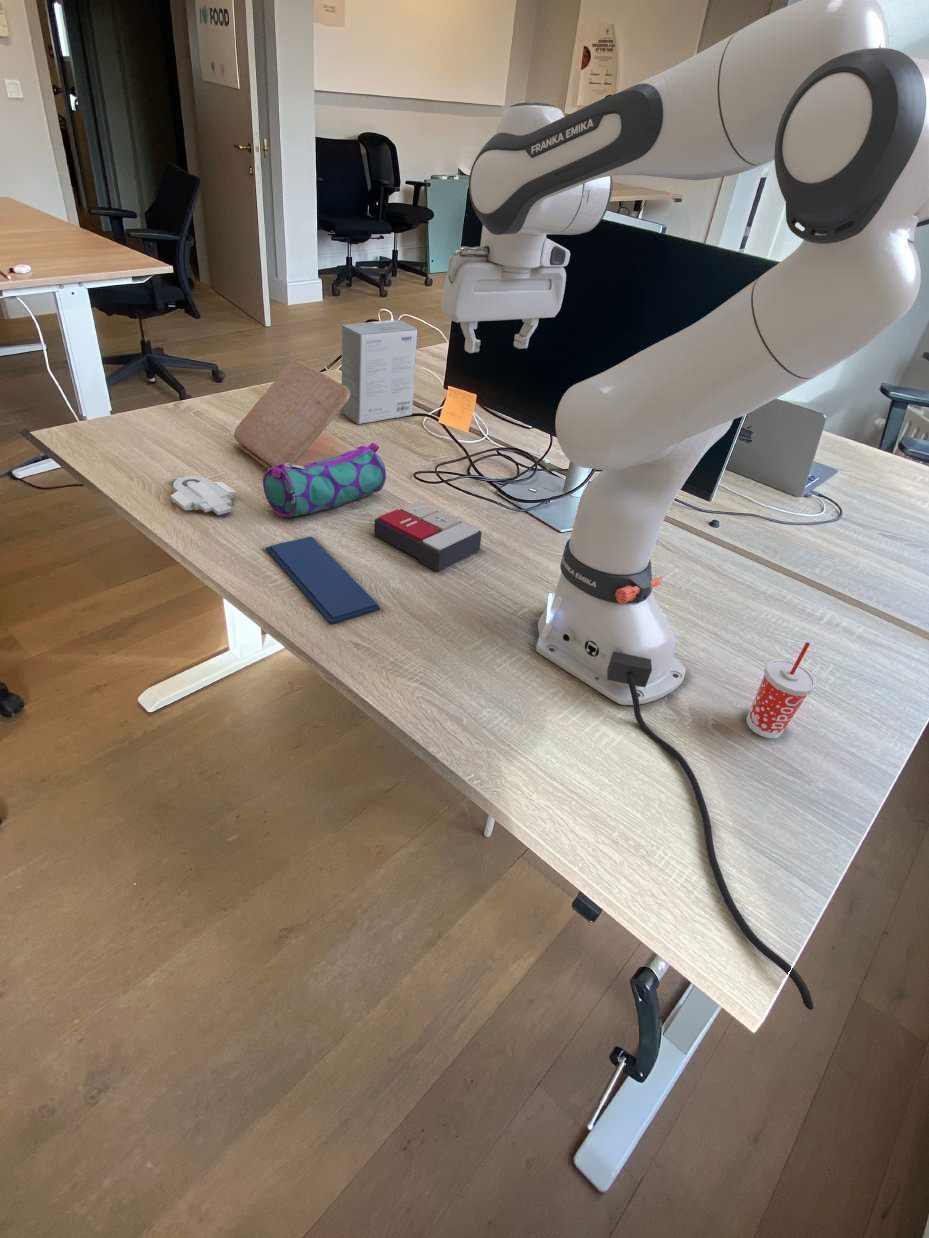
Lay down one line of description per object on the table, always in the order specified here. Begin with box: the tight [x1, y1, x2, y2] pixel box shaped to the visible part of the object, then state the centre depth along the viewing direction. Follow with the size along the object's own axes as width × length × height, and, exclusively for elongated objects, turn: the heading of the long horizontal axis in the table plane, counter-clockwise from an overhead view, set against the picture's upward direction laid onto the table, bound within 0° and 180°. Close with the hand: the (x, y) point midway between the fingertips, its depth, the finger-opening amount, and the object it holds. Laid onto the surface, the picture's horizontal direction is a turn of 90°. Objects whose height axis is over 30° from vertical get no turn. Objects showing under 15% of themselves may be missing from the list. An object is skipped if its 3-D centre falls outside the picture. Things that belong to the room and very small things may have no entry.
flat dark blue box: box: [265, 536, 381, 625], centre depth 106 cm, size 22×8×1 cm, turn 36°
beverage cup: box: [746, 641, 817, 739], centre depth 88 cm, size 6×6×14 cm
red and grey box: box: [373, 500, 482, 572], centre depth 118 cm, size 11×4×15 cm
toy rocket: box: [170, 475, 237, 516], centre depth 121 cm, size 16×10×2 cm, turn 47°
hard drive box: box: [341, 319, 419, 425], centre depth 157 cm, size 16×8×20 cm, turn 130°
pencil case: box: [262, 442, 387, 518], centre depth 123 cm, size 21×9×10 cm, turn 135°
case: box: [233, 361, 358, 470], centre depth 135 cm, size 20×21×16 cm
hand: (496, 349), depth 104 cm, fingers open, 8 cm apart
